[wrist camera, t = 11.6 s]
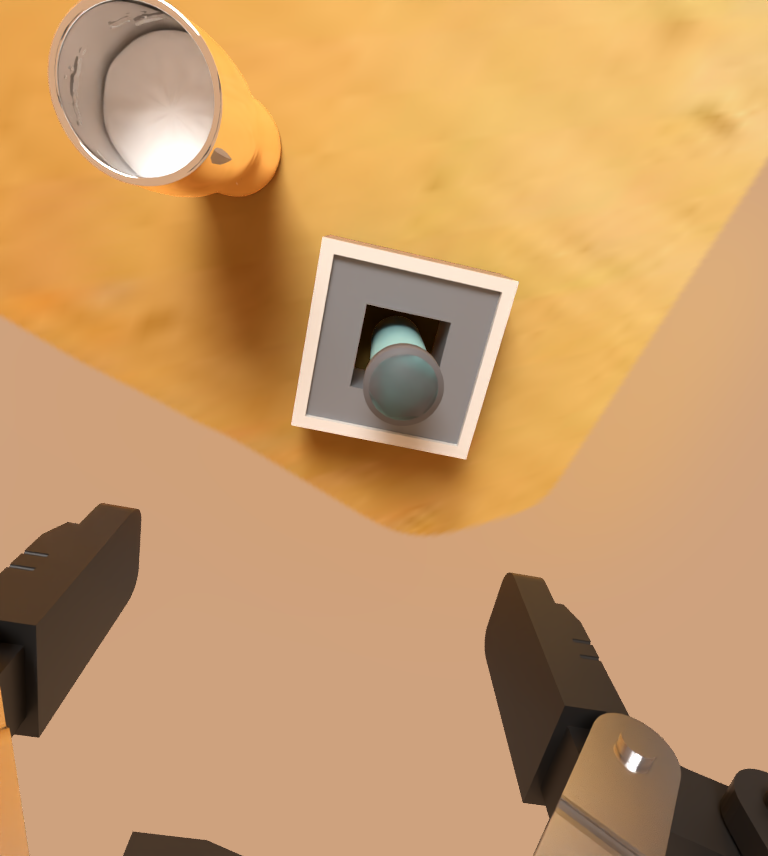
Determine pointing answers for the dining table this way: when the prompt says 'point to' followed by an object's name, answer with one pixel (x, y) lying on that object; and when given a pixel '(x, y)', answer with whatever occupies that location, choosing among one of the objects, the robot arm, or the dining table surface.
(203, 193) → the tumbler
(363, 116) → the dining table surface
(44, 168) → the dining table surface
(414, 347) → the plug
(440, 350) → the socket block
